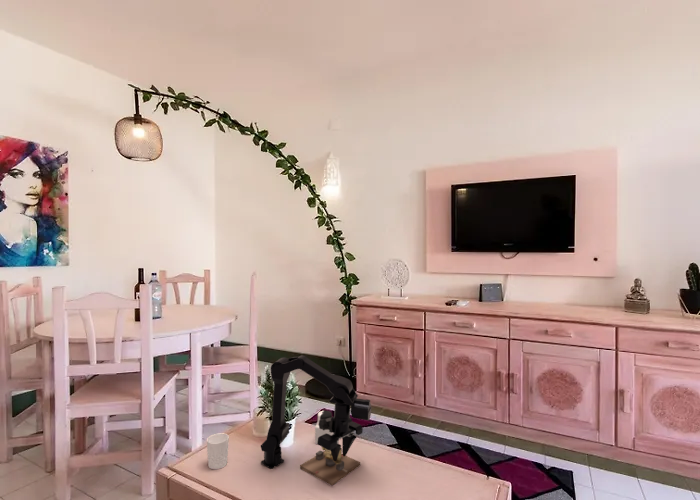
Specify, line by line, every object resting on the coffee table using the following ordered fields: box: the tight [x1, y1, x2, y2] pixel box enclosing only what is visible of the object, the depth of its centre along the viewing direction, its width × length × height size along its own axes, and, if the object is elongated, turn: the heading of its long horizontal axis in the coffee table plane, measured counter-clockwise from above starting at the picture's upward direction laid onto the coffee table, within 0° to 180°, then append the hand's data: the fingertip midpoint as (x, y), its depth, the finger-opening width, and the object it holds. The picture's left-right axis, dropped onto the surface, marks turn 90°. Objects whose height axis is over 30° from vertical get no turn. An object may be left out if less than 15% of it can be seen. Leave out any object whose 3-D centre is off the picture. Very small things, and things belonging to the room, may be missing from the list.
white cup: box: [206, 432, 230, 470], centre depth 143 cm, size 8×8×10 cm
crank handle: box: [321, 447, 343, 464], centre depth 141 cm, size 4×14×6 cm, turn 28°
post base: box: [299, 450, 361, 487], centre depth 141 cm, size 16×16×4 cm
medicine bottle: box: [314, 410, 333, 445], centre depth 161 cm, size 7×7×12 cm
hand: (339, 458), depth 137 cm, fingers open, 5 cm apart
